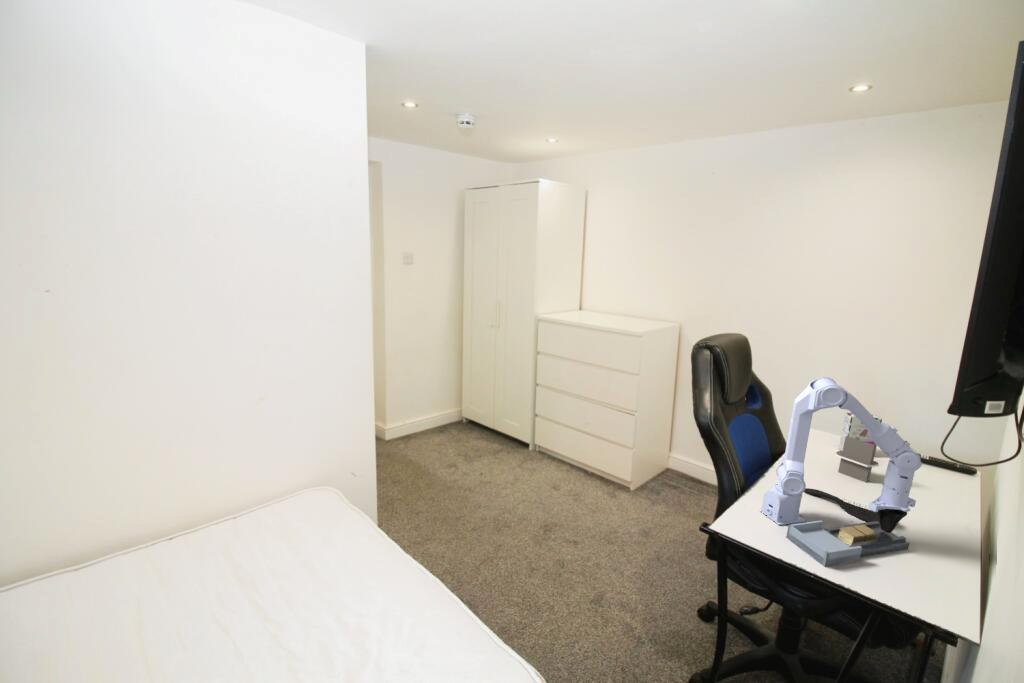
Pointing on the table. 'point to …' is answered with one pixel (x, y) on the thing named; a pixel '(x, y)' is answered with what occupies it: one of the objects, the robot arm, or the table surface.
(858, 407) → the robot arm
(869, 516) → the hairbrush
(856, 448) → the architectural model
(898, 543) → the slotted bar
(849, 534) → the brass chip
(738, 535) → the table surface
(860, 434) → the candy bar box
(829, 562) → the tray
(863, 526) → the cream square block
